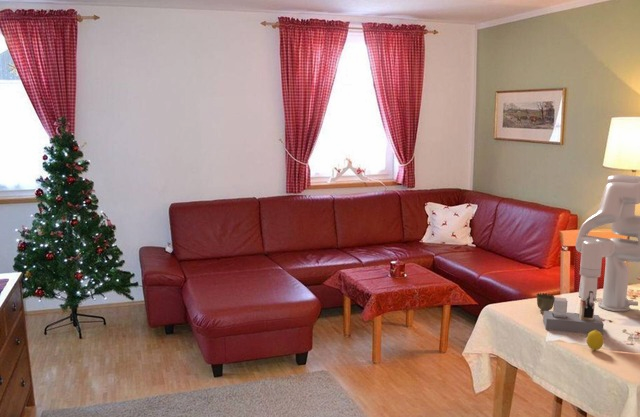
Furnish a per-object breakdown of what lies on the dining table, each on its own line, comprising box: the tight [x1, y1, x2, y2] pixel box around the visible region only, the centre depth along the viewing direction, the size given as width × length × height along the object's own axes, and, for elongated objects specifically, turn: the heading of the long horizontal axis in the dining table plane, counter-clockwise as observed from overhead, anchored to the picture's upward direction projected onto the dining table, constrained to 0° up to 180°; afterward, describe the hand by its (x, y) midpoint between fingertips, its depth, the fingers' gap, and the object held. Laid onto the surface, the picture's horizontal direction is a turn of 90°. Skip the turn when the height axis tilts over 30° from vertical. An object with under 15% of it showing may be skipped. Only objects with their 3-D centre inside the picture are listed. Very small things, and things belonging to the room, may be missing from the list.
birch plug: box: [578, 298, 596, 321], centre depth 235 cm, size 4×4×12 cm
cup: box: [536, 292, 555, 314], centre depth 255 cm, size 8×7×8 cm
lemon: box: [586, 330, 604, 352], centre depth 215 cm, size 6×6×8 cm
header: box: [542, 310, 604, 336], centre depth 237 cm, size 21×10×5 cm, turn 76°
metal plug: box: [552, 296, 568, 319], centre depth 237 cm, size 4×4×12 cm
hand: (586, 314), depth 235 cm, fingers open, 6 cm apart
